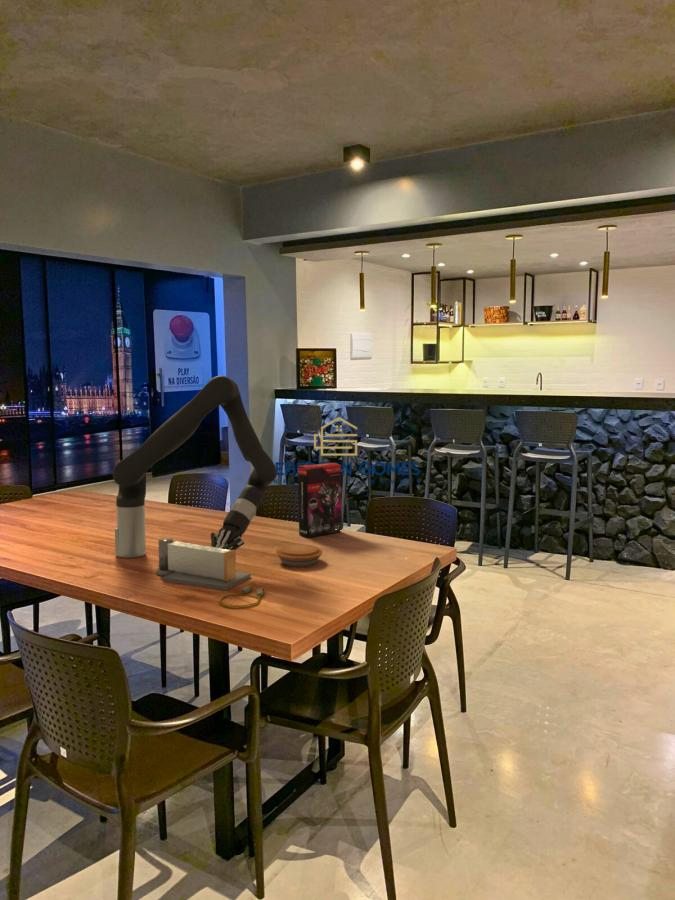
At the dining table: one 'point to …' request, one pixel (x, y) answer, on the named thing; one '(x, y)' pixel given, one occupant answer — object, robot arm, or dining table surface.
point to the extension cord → (245, 590)
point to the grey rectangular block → (197, 559)
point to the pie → (299, 555)
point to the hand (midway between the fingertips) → (213, 562)
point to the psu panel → (202, 579)
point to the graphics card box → (319, 499)
